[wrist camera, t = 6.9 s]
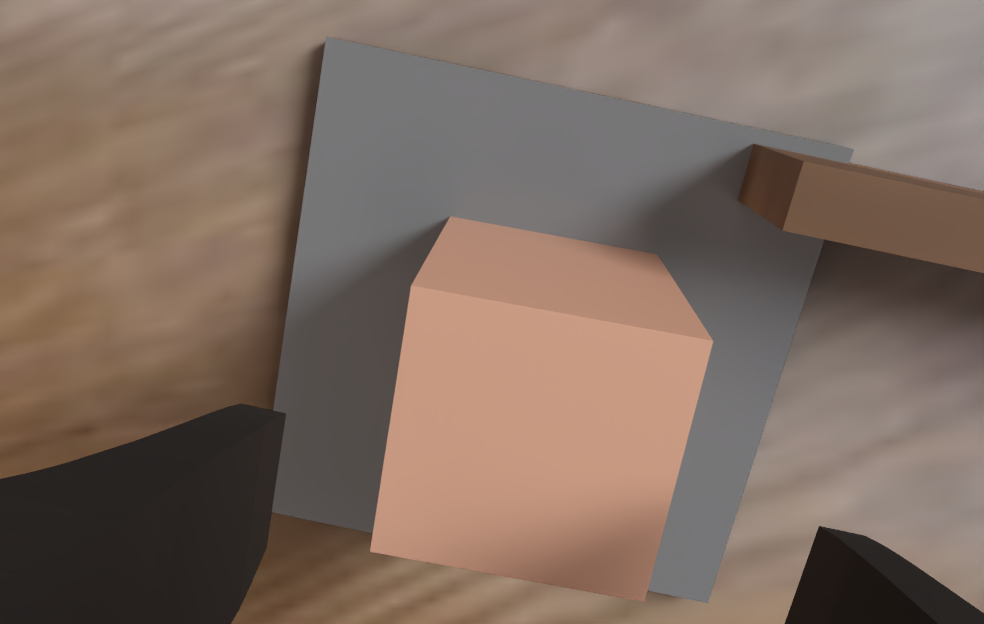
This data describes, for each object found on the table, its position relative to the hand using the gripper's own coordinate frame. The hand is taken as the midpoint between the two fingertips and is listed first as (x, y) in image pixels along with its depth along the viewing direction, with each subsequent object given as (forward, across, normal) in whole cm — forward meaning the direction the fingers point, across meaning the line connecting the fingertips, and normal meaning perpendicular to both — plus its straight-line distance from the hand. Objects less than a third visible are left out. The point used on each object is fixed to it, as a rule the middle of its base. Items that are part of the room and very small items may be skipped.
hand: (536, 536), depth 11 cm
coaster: (+9, 0, 0) cm, 9 cm away
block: (+8, 0, 0) cm, 8 cm away
